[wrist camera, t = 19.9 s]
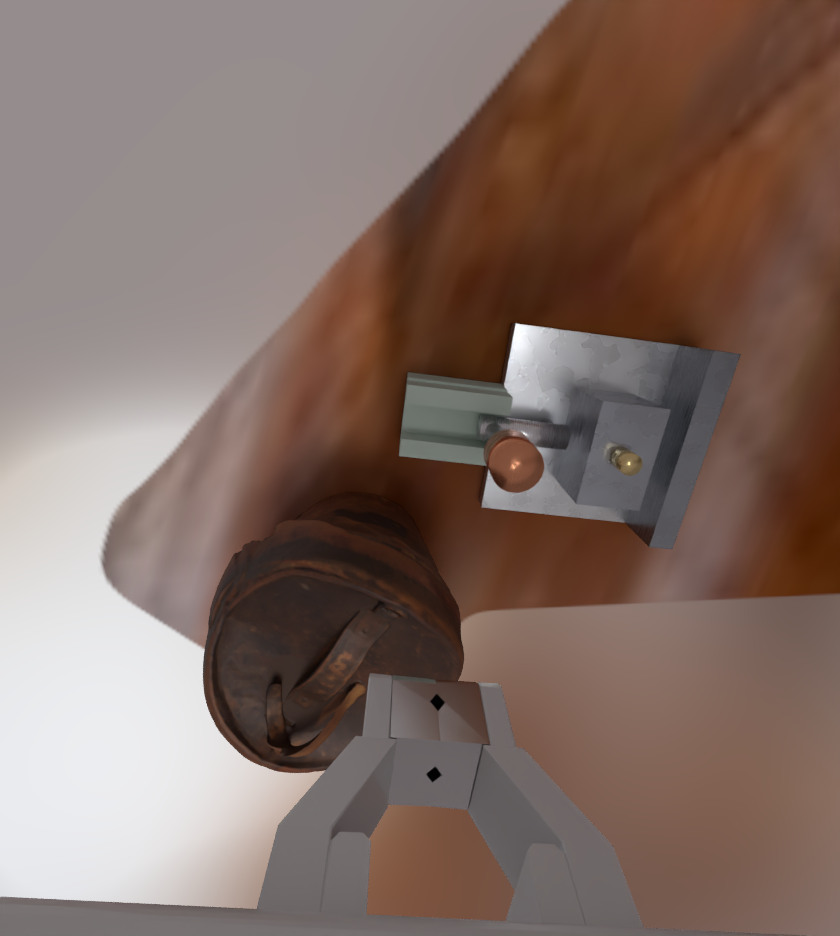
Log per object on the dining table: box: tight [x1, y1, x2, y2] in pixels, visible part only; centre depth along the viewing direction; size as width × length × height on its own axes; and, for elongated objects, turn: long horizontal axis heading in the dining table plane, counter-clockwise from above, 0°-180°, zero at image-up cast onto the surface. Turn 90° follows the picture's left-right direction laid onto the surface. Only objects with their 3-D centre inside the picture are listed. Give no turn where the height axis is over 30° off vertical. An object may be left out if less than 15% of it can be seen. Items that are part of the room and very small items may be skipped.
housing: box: [553, 387, 671, 511], centre depth 36 cm, size 5×8×8 cm, turn 173°
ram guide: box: [399, 372, 513, 466], centre depth 37 cm, size 8×6×5 cm
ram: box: [476, 415, 571, 493], centre depth 32 cm, size 8×3×10 cm, turn 83°
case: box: [203, 492, 464, 773], centre depth 36 cm, size 18×20×18 cm
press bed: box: [479, 323, 741, 549], centre depth 38 cm, size 16×16×6 cm
